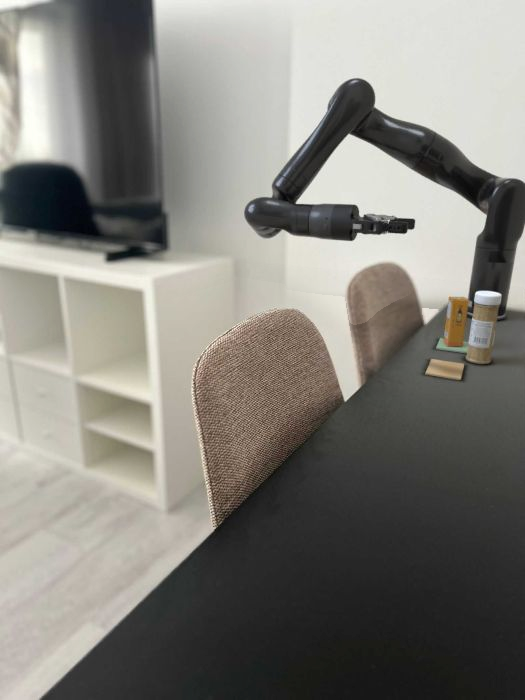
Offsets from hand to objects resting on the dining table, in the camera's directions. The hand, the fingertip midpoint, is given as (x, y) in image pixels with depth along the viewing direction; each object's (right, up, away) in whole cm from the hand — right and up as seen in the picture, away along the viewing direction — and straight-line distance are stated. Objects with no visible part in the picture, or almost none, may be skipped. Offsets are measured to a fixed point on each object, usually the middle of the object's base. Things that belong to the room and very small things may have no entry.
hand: (411, 226), depth 103 cm
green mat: (+10, -24, +4) cm, 26 cm away
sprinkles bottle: (+12, -27, -4) cm, 30 cm away
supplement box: (+10, -24, +4) cm, 26 cm away
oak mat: (+4, -29, -9) cm, 30 cm away
